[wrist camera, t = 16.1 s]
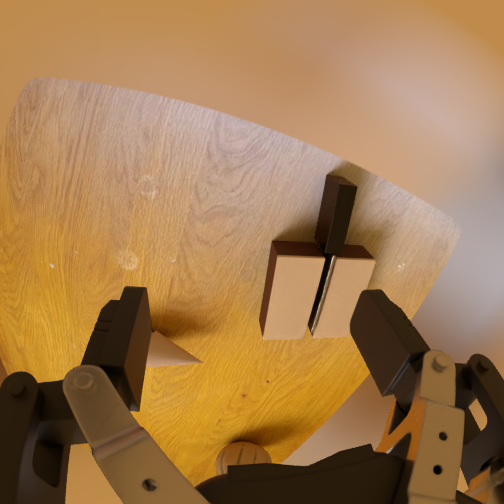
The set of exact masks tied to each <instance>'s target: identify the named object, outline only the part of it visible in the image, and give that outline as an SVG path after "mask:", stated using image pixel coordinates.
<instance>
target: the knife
mask: <svg viewBox="0 0 504 504" xmlns="http://www.w3.org/2000/svg"><path fill="white" fill-rule="evenodd" d="M356 192H357V186H356V185H354V184H353V183H351V182H350V181H348V180H347V179H345V178H343V177H339V176H332V175H327V176H326V181H325V187H324V192H323V197H322V202H321V208H320V213H319V218H318V222H317V227H316V232H315V237H314V238H315V240H316V241H317V243H318V244H319V250H320V251H321V253H322V254H323V256H324V257H325V262H324V266H323V270H322V274H321V278H320V282H319V285H318V289H317V293H316V296H315V300H314V303H313V307H312V311H311V314H310V317H309V321H308V326H309V328H310V331H311V333H313V332H314V329H315V326H316V323H317V320H318V317H319V313H320V310H321V307H322V304H323V300H324V297H325V293H326V290H327V286H328V283H329V279H330V276H331V272H332V268H333V265H334V261H335V257H336V255H335V254H342V250H343V246H344V242H345V238H346V234H347V230H348V226H349V222H350V218H351V214H352V210H353V205H354V201H355V196H356Z"/></svg>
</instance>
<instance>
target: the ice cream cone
mask: <svg viewBox="0 0 504 504" xmlns="http://www.w3.org/2000/svg"><path fill="white" fill-rule="evenodd" d="M196 363H203V362H202V361H200V360H199V359H197V358H196V357H194V356H193V355H191V354H190V353H188V352H187V351H185V350H184V349H182V348H181V347H179V346H178V345H176V344H175V343H173V342H172V341H171V340H169V339H168V338H166V337H165V336H163V335H162V334H161V333H159V332H158V331H155V332H154V333H153V332H152V331H151V339H150V345H149V350H148V356H147V362H146V366H147V367H155V366H171V365H185V364H196Z"/></svg>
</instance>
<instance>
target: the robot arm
mask: <svg viewBox="0 0 504 504" xmlns="http://www.w3.org/2000/svg"><path fill="white" fill-rule="evenodd" d="M407 318H408V317H407V316H406V315H405V313H404V312H403V311H402V309H401V308H400V307H398V306H397V305H396V304H394V303H393V302H392V301H390V300H389V298H388V297H387V296H386V294H385V293H384V292H383V291H382V290H380V289H376V290H363V291H362V292H361V293H360V296H359V298H358V301H357V304H356V307H355V309H354V312H353V315H352V317H351V320H350V333H351V335H352V337H353V339H354V341H355V343H356V345H357V347H358V349H359V351H360V353H361V355H362V357H363V359H364V361H365V363H366V365H367V367H368V369H369V371H370V373H371V374H372V377H373V379H374V380H375V383H376V385H377V387H378V389H379V391H380V393H381V395H382V397H383V396H388V395H392V394H394V396H395V399H394V400H393V402H392V405H391V409H390V412H389V417H388V420H387V423H386V427H385V430H384V434H383V437H382V440H381V442H380V444H379V446H378V447H377V448H376V450H375V451H373V448H372V445H371V444H367V445H363V446H359V447H355V448H351V449H347V450H343V451H339V452H337V453H335V454H333V455H332V456H329V457H327V458H325V459H323V460H320V461H318V462H316V463H314V464H311V465H309V466H293V465H282V464H273V463H258V464H244V465H227V473H225V474H221V475H217V476H215V477H212V478H210V479H208V480H206V481H204V482H202V483H200V484H199V485H197V486H196V487H194V486H193V485H192V484H191V483H190V482H189V481H188V480H187V479H186V478H185V477H184V476H183V474H182V473H181V472H180V471H179V470H178V469H177V468H176V466H175V465H174V464H173V463H172V462H171V461H170V459H169V458H168V457H167V456H166V455H165V453H164V452H163V451H162V450H161V448H160V447H159V446H158V445H157V443H156V442H155V441H154V440H153V438H152V437H151V436H150V434H149V433H148V432H147V431H146V430H145V429H144V428H143V427H141V426H140V425H139V424H138V423H137V421H136V420H135V418H134V417H133V415H132V414H131V412H130V411H137V412H139V411H140V403H141V395H142V388H143V381H144V375H145V368H146V362H147V356H148V350H149V345H150V339H151V316H150V309H149V301H148V293H147V288H146V287H131V286H126V287H125V288H124V290H123V293H122V295H121V298H120V300H110V301H109V302H108V303H107V304H106V305H105V306H104V307H103V308H102V309H101V312H100V314H99V317H98V319H97V320H98V321H97V322H96V324H95V327H94V331H93V332H92V335H91V337H90V340H89V343H88V345H87V348H86V351H85V354H84V357H83V359H82V362H81V365H80V366H77V367H75V368H73V369H72V370H70V371H69V372H68V373H67V374H66V376H65V378H64V379H63V380H59V381H52V382H43V383H37V381H36V379H35V378H34V377H33V376H32V375H31V374H29V373H27V372H15V373H12V374H11V375H9V376H8V377H7V378H6V379H5V380H4V381H3V383H2V385H1V387H0V504H65V496H66V495H65V494H66V483H67V482H66V481H67V472H68V462H69V453H70V447H71V445H73V444H83V443H89V445H90V447H91V449H92V455H93V457H94V459H95V461H96V463H97V464H98V466H99V467H100V469H101V471H102V472H103V474H104V476H105V477H106V479H107V480H108V482H109V483H110V485H111V486H112V488H113V489H114V491H115V492H116V494H117V495H118V496H119V498H120V499H121V501H122V502H123V503H124V504H504V380H503V378H502V377H501V375H500V374H499V372H498V371H497V369H496V368H495V366H494V365H493V363H492V362H491V361H490V360H489V359H488V358H487V357H485V356H483V355H481V354H474V355H472V356H471V357H470V359H469V360H468V362H467V363H466V364H461V363H454V362H453V360H452V359H451V358H450V357H449V356H448V355H447V354H445V353H444V352H441V351H439V350H431V349H430V348H429V347H428V345H427V344H426V342H425V341H424V339H423V338H422V337H421V335H420V334H419V332H418V331H417V330H416V328H415V327H414V326H413V325H412V323H411V321H410V320H409V319H407ZM476 398H477V399H478V401H479V403H480V405H481V407H482V408H483V410H484V412H485V414H486V416H487V425H486V427H485V428H484V429H483V430H482V431H480V429H479V427H478V425H477V423H476V421H475V419H474V417H473V415H472V413H471V411H470V409H469V406H470V405H471V404H472V403H473V402H474V400H475V399H476ZM460 467H461V470H462V472H463V474H464V477H465V480H466V482H467V485H468V488H469V489H468V490H467V491H465V492H464V493H462V492H460V491H458V490H456V489H457V483H458V477H459V471H460Z"/></svg>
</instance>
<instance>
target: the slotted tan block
mask: <svg viewBox="0 0 504 504" xmlns="http://www.w3.org/2000/svg"><path fill="white" fill-rule="evenodd" d="M335 255H336V257H335V261H334V265H333V268H332V272H331V276H330V279H329V283H328V286H327V290H326V293H325V297H324V300H323V304H322V307H321V310H320V313H319V317H318V320H317V323H316V326H315V329H314V332H313V333H311V334H312V337H313V338H330V337H344V336H349V333H350V320H351V317H352V315H353V312H354V309H355V307H356V304H357V301H358V298H359V296H360V293H361V292H362V291H363V290H366V289H367V286H368V284H369V281H370V278H371V275H372V272H373V269H374V266H375V263H376V260H375V259H374V258H373V257H372V255H371V254H370V253H369V252H368V251H367V250H366V249H365V248H364V247H363V246H357V245H344V246H343V250H342V254H335ZM324 262H325V257H324V256H323V254H322V253H321V251H320V250H319V248H318V247H317V245H316V244H315V243H306V242H287V241H272V243H271V250H270V256H269V263H268V269H267V275H266V281H265V288H264V294H263V300H262V306H261V312H260V318H259V322H260V327H261V332H262V336H263V340H286V339H303V338H304V334H305V331H306V328H307V324H308V321H309V317H310V314H311V311H312V307H313V303H314V300H315V296H316V293H317V289H318V285H319V282H320V278H321V274H322V270H323V266H324ZM308 327H309V326H308ZM309 329H310V328H309ZM310 332H311V331H310Z"/></svg>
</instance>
